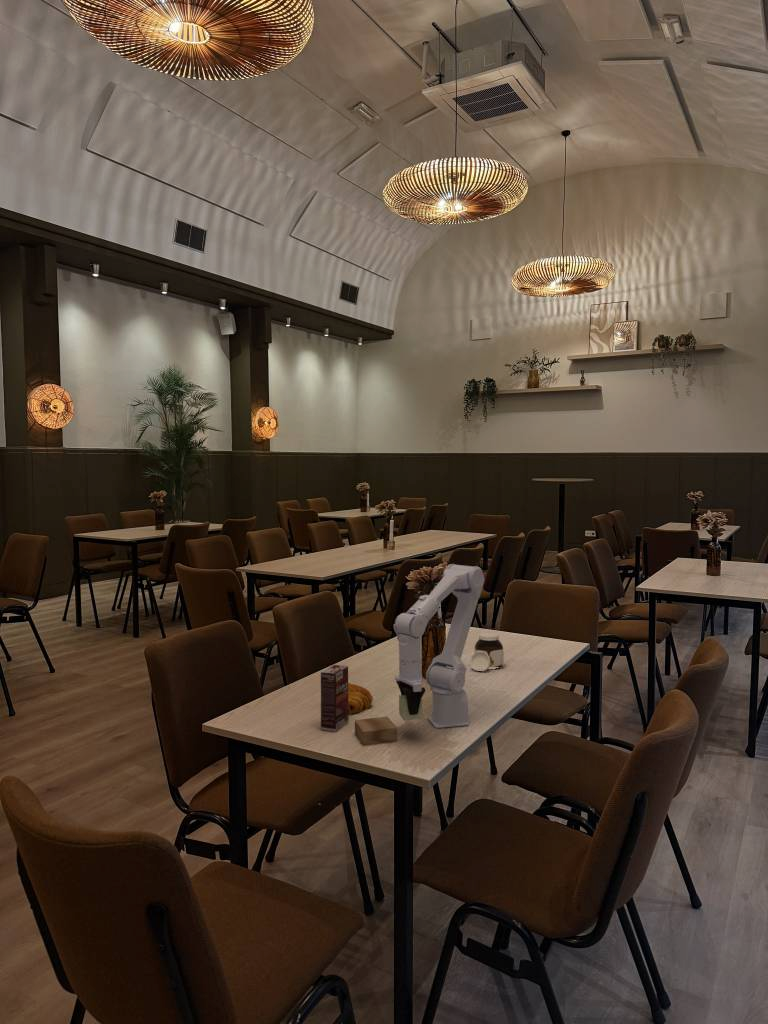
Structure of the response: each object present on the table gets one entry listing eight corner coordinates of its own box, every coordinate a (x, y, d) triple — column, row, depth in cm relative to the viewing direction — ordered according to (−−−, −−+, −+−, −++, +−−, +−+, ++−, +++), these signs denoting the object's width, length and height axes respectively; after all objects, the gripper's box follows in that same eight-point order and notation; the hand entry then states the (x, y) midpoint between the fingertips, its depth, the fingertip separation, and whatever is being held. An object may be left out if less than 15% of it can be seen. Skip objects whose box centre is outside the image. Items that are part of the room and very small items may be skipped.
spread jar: (501, 664, 258) (501, 632, 257) (506, 673, 246) (506, 639, 246) (468, 664, 258) (467, 632, 257) (471, 673, 247) (471, 639, 246)
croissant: (328, 725, 205) (328, 699, 203) (318, 700, 219) (318, 676, 218) (377, 718, 208) (377, 692, 207) (364, 695, 223) (364, 671, 222)
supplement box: (336, 732, 192) (335, 674, 192) (320, 730, 194) (319, 672, 193) (349, 722, 200) (349, 665, 200) (334, 720, 202) (333, 664, 201)
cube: (417, 712, 191) (417, 693, 191) (422, 718, 186) (422, 699, 186) (399, 714, 190) (398, 695, 190) (403, 720, 185) (403, 701, 185)
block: (387, 730, 194) (387, 716, 194) (397, 743, 186) (397, 727, 185) (354, 734, 192) (354, 720, 191) (363, 747, 183) (363, 731, 183)
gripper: (388, 653, 194) (389, 703, 194) (401, 668, 179) (402, 721, 180) (414, 651, 195) (414, 701, 196) (429, 666, 181) (429, 719, 182)
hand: (410, 710), depth 188 cm, fingers closed on cube, 5 cm apart
